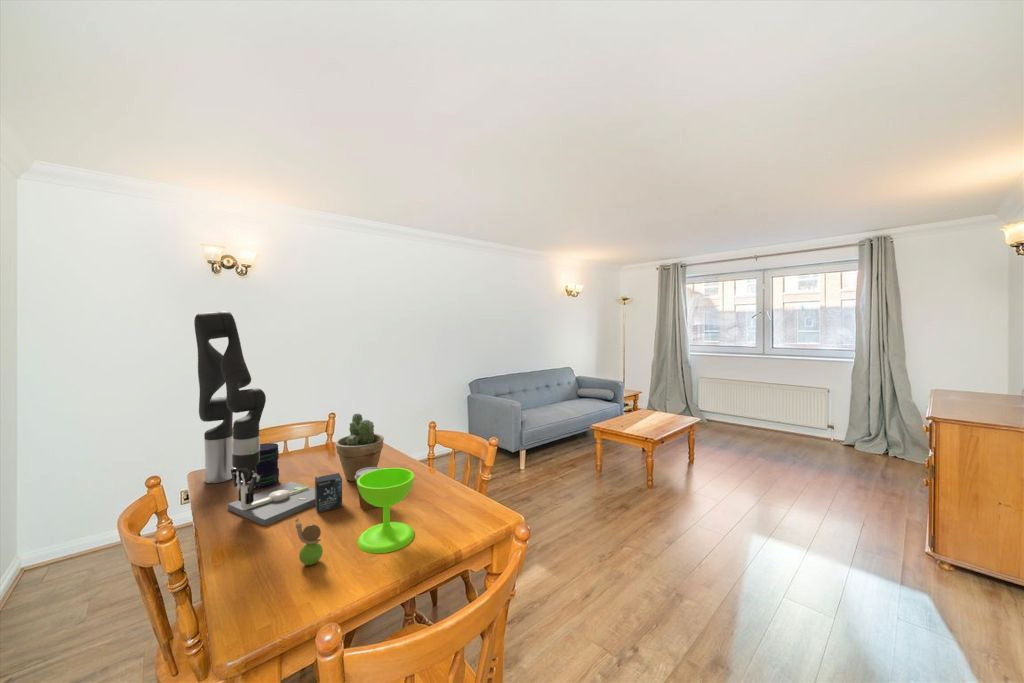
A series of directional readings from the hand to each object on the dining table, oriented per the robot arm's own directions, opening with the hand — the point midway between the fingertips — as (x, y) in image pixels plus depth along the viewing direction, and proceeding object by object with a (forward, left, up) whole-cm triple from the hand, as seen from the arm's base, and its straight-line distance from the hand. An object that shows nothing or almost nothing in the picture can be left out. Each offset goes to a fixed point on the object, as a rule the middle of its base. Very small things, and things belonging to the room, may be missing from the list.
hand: (246, 501), depth 128 cm
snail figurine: (+42, -6, -5) cm, 43 cm away
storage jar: (-21, +17, -5) cm, 27 cm away
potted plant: (+5, +41, -5) cm, 42 cm away
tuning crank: (+1, +10, -2) cm, 10 cm away
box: (+18, +17, -5) cm, 26 cm away
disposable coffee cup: (+29, +25, -5) cm, 39 cm away
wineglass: (+50, +13, -5) cm, 52 cm away
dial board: (+1, +10, -5) cm, 11 cm away
